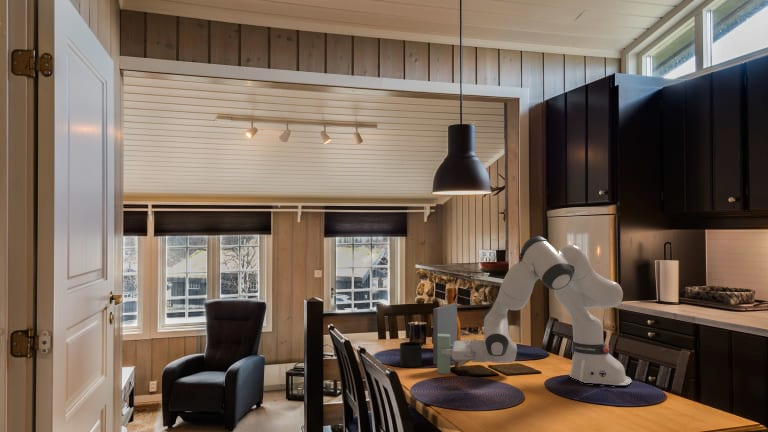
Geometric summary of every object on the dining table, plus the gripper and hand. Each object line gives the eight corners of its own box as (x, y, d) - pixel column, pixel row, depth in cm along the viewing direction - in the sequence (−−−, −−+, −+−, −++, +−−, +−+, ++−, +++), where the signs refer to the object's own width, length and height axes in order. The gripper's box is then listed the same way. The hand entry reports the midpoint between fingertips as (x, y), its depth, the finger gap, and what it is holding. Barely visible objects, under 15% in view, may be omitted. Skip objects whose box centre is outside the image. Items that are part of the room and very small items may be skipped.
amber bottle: (454, 351, 254) (454, 289, 255) (436, 349, 260) (436, 288, 261) (464, 348, 262) (464, 287, 263) (446, 345, 268) (446, 286, 269)
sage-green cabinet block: (450, 370, 219) (450, 334, 220) (449, 373, 215) (449, 336, 215) (438, 369, 220) (438, 333, 221) (437, 373, 215) (437, 336, 216)
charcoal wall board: (476, 357, 243) (476, 304, 244) (458, 367, 224) (457, 310, 225) (453, 354, 249) (453, 303, 250) (433, 364, 230) (433, 308, 231)
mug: (414, 360, 237) (414, 340, 237) (425, 366, 226) (425, 345, 226) (394, 361, 234) (394, 341, 234) (404, 368, 223) (404, 346, 223)
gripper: (476, 364, 205) (440, 363, 208) (475, 353, 225) (442, 351, 228) (476, 348, 206) (440, 347, 208) (475, 338, 226) (442, 337, 228)
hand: (441, 349), depth 218 cm, fingers closed on sage-green cabinet block, 5 cm apart
